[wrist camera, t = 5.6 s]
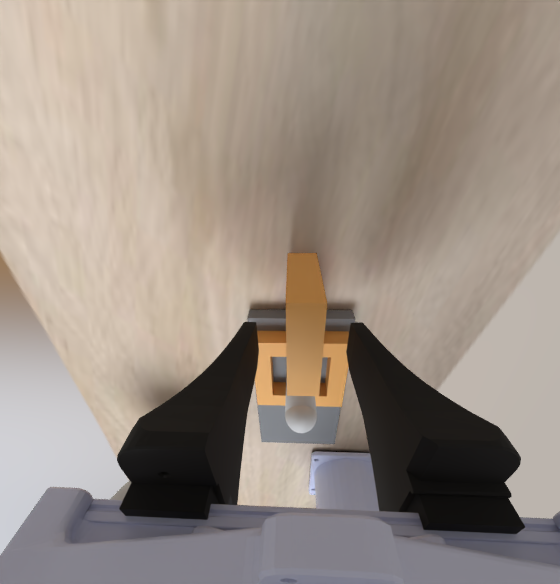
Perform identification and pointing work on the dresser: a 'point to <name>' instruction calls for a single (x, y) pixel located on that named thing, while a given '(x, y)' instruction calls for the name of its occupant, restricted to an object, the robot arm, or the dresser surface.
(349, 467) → the robot arm
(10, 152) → the dresser surface
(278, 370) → the keeper board
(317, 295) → the orange loop handle block
